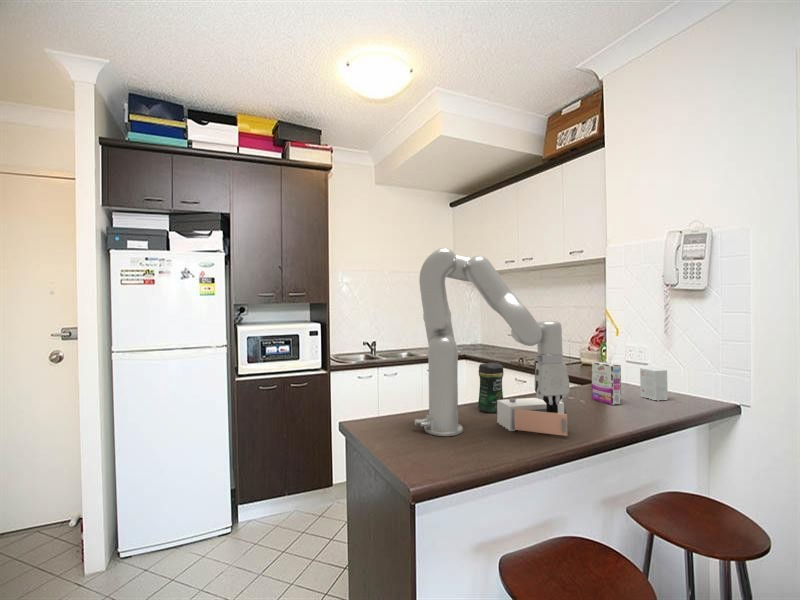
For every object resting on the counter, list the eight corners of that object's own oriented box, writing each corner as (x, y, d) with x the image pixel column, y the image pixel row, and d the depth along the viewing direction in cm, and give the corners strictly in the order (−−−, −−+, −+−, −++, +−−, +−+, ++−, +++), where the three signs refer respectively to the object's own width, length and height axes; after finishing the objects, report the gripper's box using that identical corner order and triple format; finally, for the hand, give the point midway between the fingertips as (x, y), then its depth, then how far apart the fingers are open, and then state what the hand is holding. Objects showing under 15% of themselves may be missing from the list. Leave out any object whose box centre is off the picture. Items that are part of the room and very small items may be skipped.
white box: (510, 431, 125) (509, 403, 125) (497, 422, 134) (497, 397, 134) (569, 426, 129) (569, 399, 130) (553, 418, 138) (553, 393, 139)
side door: (511, 430, 124) (511, 409, 124) (512, 428, 125) (512, 408, 125) (567, 436, 117) (567, 415, 117) (567, 435, 119) (567, 414, 119)
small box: (668, 400, 164) (667, 370, 164) (655, 401, 162) (655, 370, 162) (651, 396, 172) (651, 367, 172) (640, 397, 170) (639, 367, 170)
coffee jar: (489, 414, 144) (488, 365, 145) (475, 409, 151) (474, 362, 151) (507, 410, 149) (507, 363, 149) (493, 406, 156) (492, 360, 156)
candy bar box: (622, 404, 157) (621, 364, 158) (612, 405, 156) (612, 365, 156) (600, 398, 168) (599, 361, 168) (591, 399, 166) (590, 361, 167)
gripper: (535, 362, 118) (538, 421, 118) (578, 359, 121) (580, 417, 121) (523, 359, 126) (525, 415, 125) (563, 356, 129) (565, 411, 128)
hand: (552, 416), depth 123 cm, fingers closed
